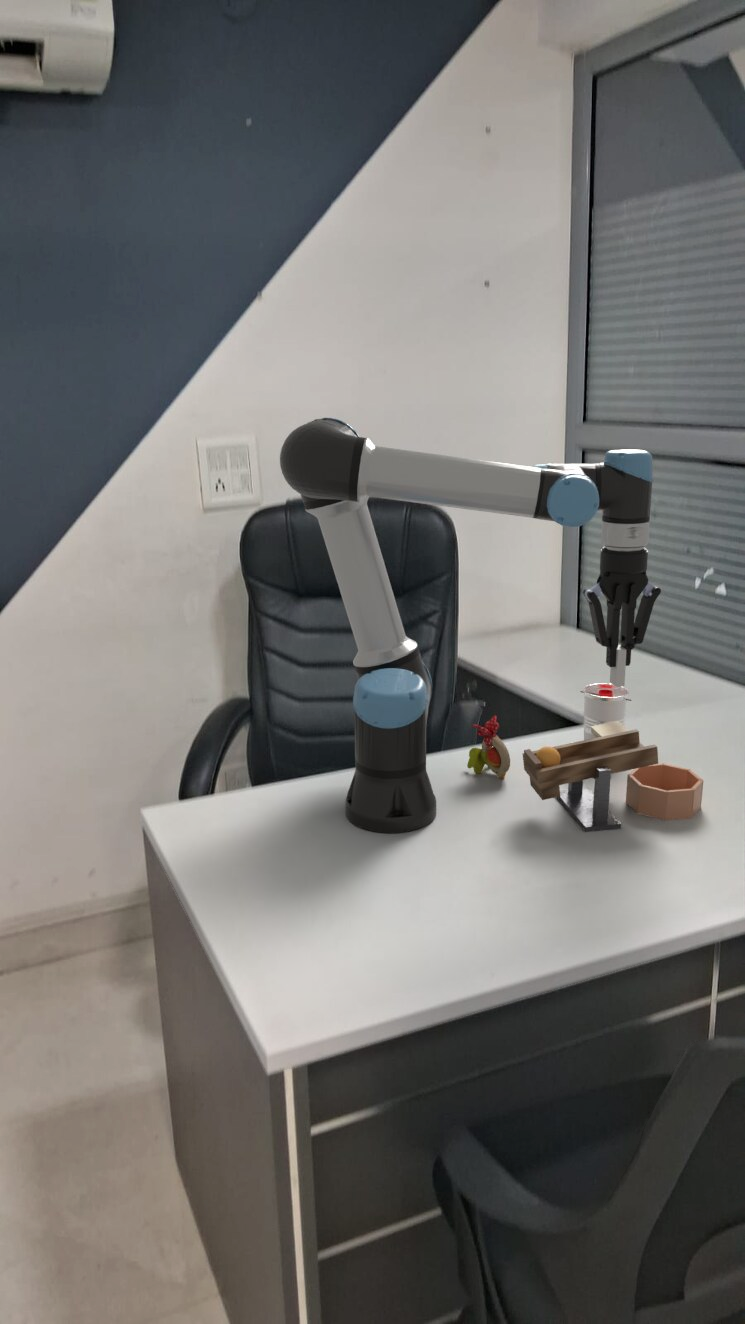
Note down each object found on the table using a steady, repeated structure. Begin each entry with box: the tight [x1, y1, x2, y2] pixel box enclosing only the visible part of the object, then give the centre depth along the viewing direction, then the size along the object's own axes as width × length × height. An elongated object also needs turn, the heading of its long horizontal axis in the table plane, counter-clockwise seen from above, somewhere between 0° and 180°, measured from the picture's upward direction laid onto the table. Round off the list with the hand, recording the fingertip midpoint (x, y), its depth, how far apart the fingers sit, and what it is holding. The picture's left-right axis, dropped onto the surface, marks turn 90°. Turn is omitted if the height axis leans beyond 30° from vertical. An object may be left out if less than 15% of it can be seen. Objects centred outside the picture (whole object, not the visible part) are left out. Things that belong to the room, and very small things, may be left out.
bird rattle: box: [466, 715, 511, 779], centre depth 179 cm, size 6×11×9 cm
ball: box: [536, 746, 560, 769], centre depth 161 cm, size 4×4×4 cm
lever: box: [522, 721, 659, 801], centre depth 166 cm, size 20×16×6 cm
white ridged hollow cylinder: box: [580, 682, 632, 740], centre depth 189 cm, size 10×8×12 cm
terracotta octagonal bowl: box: [625, 763, 704, 821], centre depth 166 cm, size 11×11×5 cm
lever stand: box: [556, 741, 622, 833], centre depth 163 cm, size 6×14×10 cm, turn 10°
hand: (617, 684), depth 168 cm, fingers closed
